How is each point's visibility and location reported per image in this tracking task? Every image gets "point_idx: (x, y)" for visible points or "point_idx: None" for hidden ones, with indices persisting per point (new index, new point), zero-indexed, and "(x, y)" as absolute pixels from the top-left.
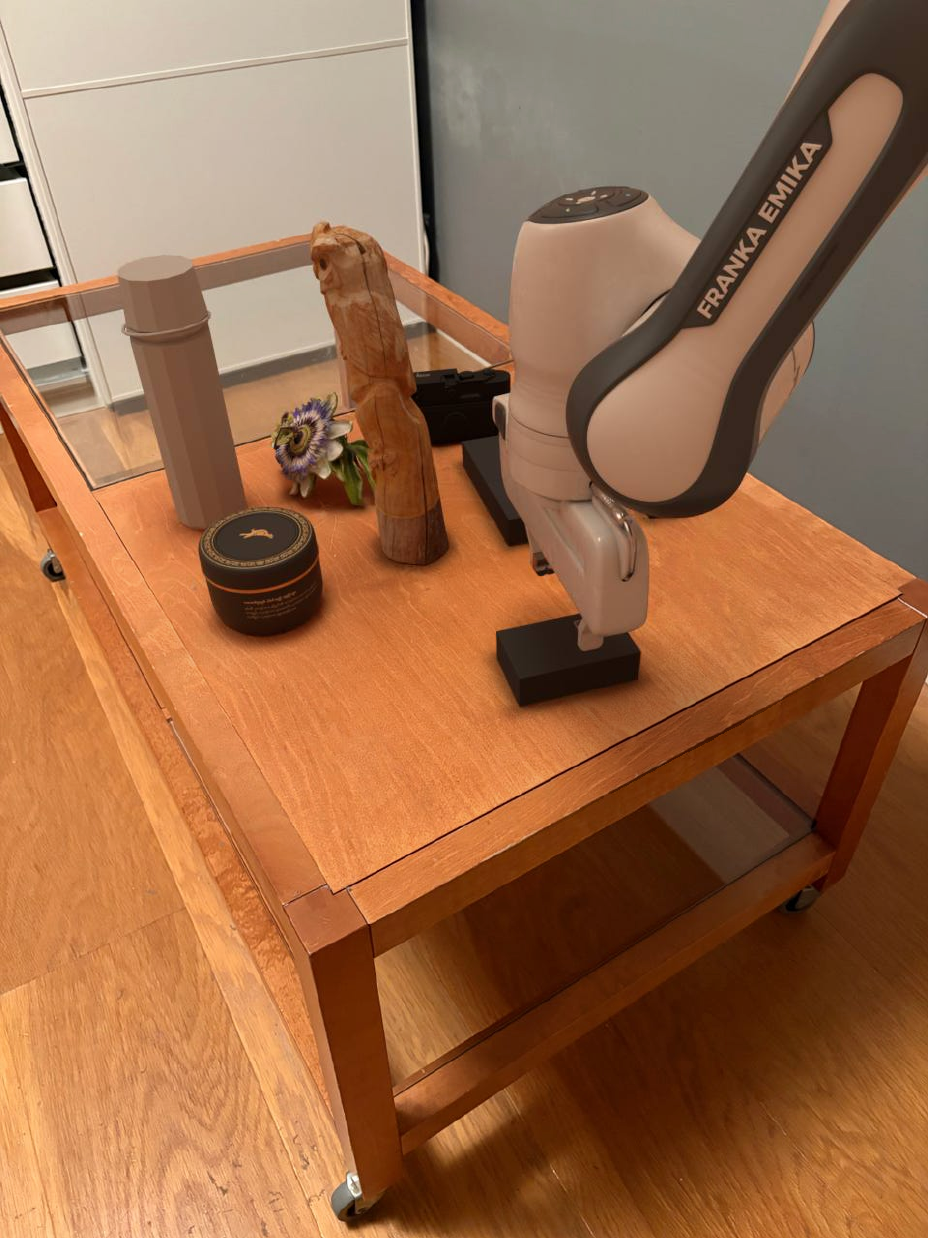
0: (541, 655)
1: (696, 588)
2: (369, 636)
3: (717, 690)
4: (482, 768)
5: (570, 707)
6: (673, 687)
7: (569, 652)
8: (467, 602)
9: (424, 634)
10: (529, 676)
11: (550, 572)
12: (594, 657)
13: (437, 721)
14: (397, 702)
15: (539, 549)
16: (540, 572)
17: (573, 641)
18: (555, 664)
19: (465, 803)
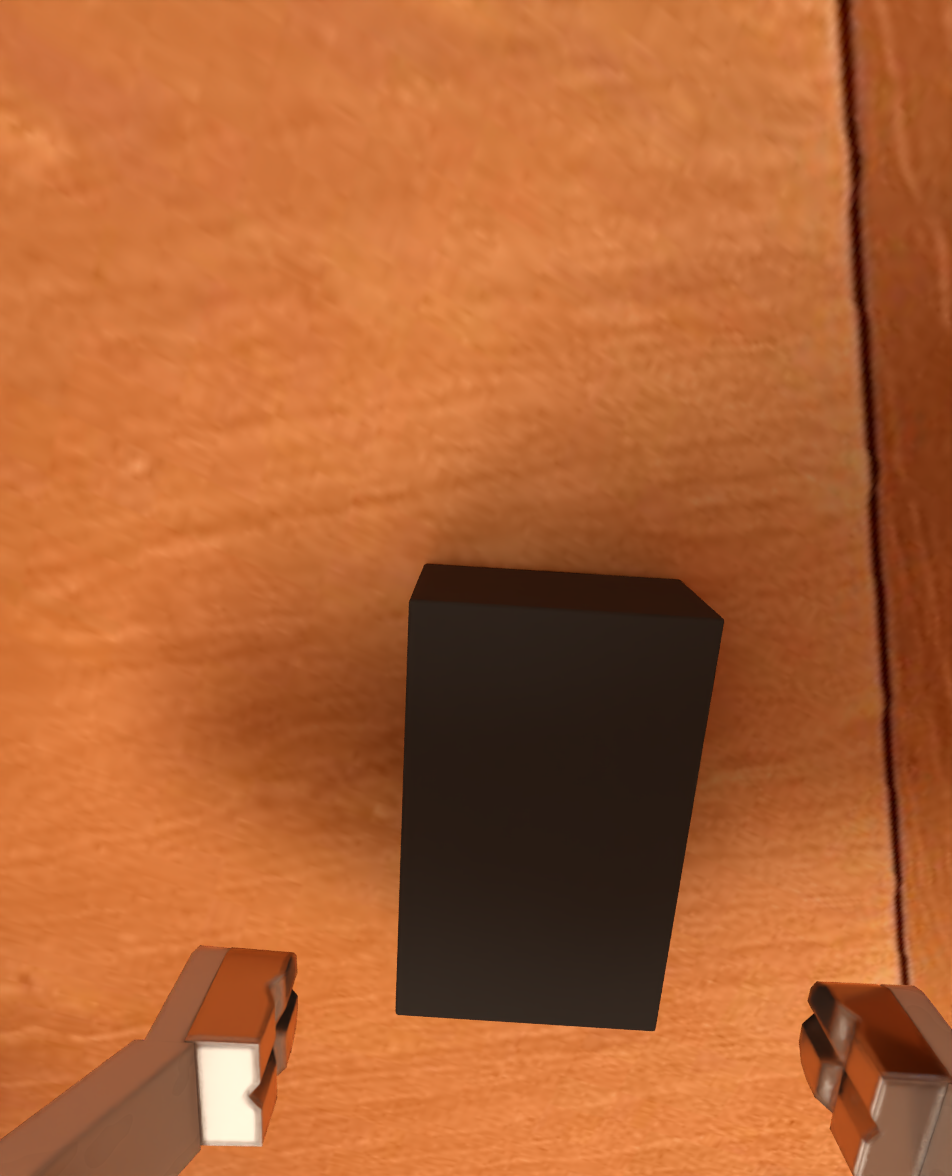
0: (578, 937)
1: (268, 59)
2: (204, 1153)
3: (857, 341)
4: (783, 1069)
5: (692, 813)
6: (766, 484)
7: (607, 855)
8: (120, 902)
9: None
10: (657, 1003)
11: (292, 977)
12: (670, 789)
13: (584, 1106)
14: (479, 1159)
15: (184, 1131)
16: (290, 1033)
17: (556, 820)
18: (643, 917)
19: None
